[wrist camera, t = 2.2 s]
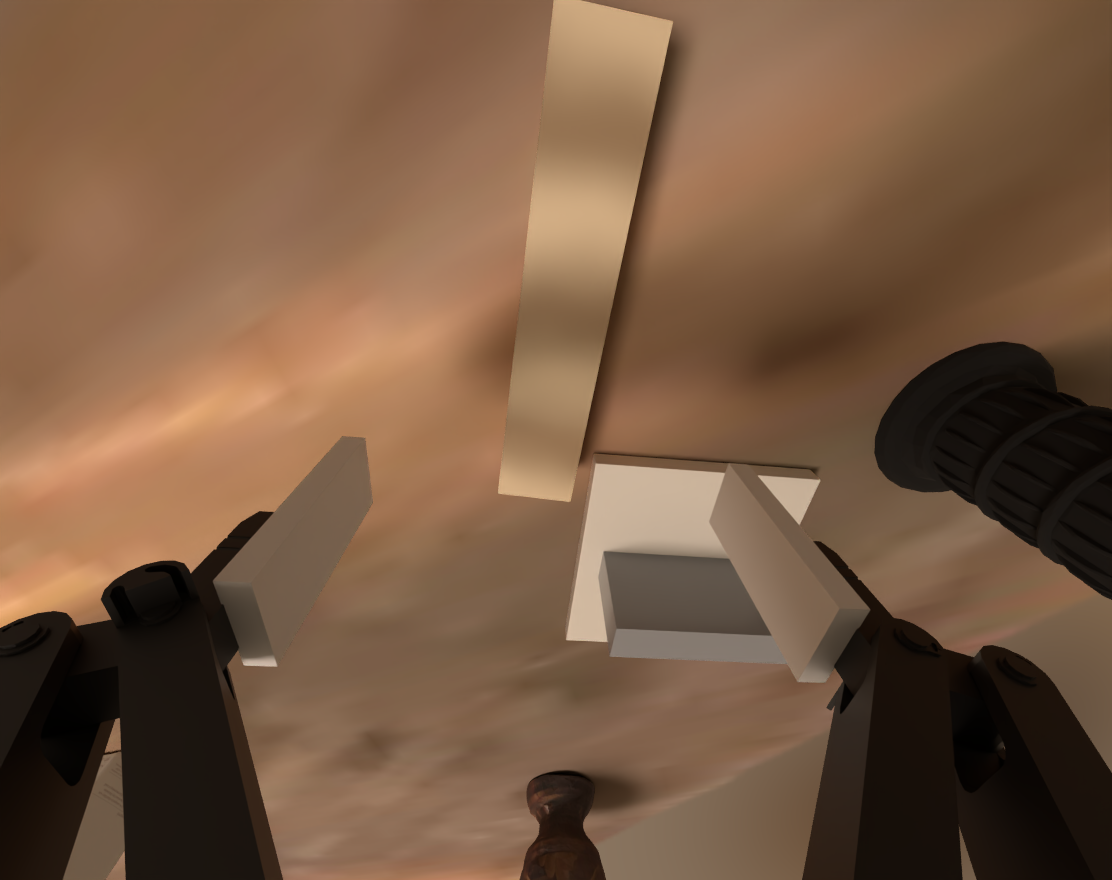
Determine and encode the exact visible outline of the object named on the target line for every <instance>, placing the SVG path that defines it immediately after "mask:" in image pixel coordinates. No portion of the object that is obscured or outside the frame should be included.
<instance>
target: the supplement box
mask: <svg viewBox="0 0 1112 880" xmlns="http://www.w3.org/2000/svg"><path fill="white" fill-rule="evenodd" d="M124 851H125V843H124V815H123V787H122V759H121V752H117V753H112V754H108V755H103V758H102V761H101V764H100V767H99V770H98V773H97V776H96V780H95V783H94V786H93V789H92V792H91V795H90V798H89V801H88V804H87V807H86V810H85V813H84V816H83V819H82V822H81V825H80V828H79V831H78V835H77V838H76V841H75V844H74V847H73V850H72V853H71V856H70V859H69V862H68V865H67V868H66V871H65V874H64V877H63V880H105V879H106V878H107V876H108V875H109V873H110V872H111V870H112V869H113V867H114V866H115V864H116V863H117V861H118V860H119V858H120V857H121V855H122V854H123V852H124Z"/></svg>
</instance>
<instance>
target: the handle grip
mask: <svg viewBox="0 0 1112 880" xmlns="http://www.w3.org/2000/svg"><path fill="white" fill-rule="evenodd" d="M875 456H876V460H877V463H878V467H879V469H880V470H881V471H882V472H883V474H884V475H885V476H886V477H887V479H889V480H890V481H892V482H894V483H895V484H897V485H898V486H900V487H902V488H907V489H911V490H915V491H920V492H944V491H949V490H952V491H954V492H955V493H957V495H959V496H960V497H961V498H963V499H964V500H966V501H967V502H969V503H971V504H974V505H977V506H978V507H979V509H980V510H981V511H982V512H983V514H984V515H986V516H988V517H989V518H991V519H993V520H996V521H999V522H1000V523H1001V525H1003V526H1004V527H1005V528H1007V529H1008V530H1010V531H1011V532H1013V533H1014V534H1015V535H1016V536H1018V537H1019V538H1021V539H1022V540H1023V541H1025V542H1026V543H1028V544H1029V545H1031V546H1034V547H1036V548H1039V549H1040V551H1041V552H1042V553H1043V555H1045V556H1046V557H1048V558H1049V559H1050V560H1052V561H1053V562H1055V563H1057V564H1060V565H1064V566H1065V567H1066V568H1067V569H1068V571H1069V572H1070V573H1072V574H1073V575H1075V576H1076V577H1077V578H1079V579H1080V580H1082V581H1083V582H1084V583H1085V584H1087V585H1088V586H1090V587H1091V588H1093V589H1094V590H1095V591H1097V592H1098V593H1100V594H1101V595H1103V596H1104V597H1107V598H1109V599H1111V600H1112V410H1111V409H1109V408H1104V407H1097V406H1088V405H1087V404H1086V403H1084V402H1083V401H1082V400H1080V399H1078V398H1076V397H1073V396H1070V395H1067V394H1065V393H1061V392H1057V387H1056V381H1055V375H1054V370H1053V367H1052V366H1051V365H1050V364H1049V363H1048V362H1047V360H1046V359H1045V358H1044V357H1043V356H1042V355H1041V353H1039V352H1037V351H1035V350H1033V349H1031V348H1029V347H1027V346H1025V345H1022V344H1015V343H1007V342H997V343H988V344H979V345H976V346H973V347H970V348H967V349H964V350H961V351H958V352H955V353H953V354H952V355H950V356H948V357H946V358H944V359H942V360H940V361H938V362H936V363H935V364H933V365H931V366H930V367H929V368H927V369H926V370H925V371H923V372H922V373H921V374H920V375H918V376H917V377H916V378H914V379H913V380H912V381H911V382H910V383H909V384H908V385H907V386H906V387H905V388H904V389H903V391H902V392H901V393H900V394H899V395H898V396H897V397H896V398H895V399H894V401H893V402H892V404H891V405H890V407H889V409H888V410H887V412H886V413H885V415H884V417H883V418H882V420H881V423H880V426H879V429H878V432H877V434H876V439H875Z"/></svg>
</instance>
